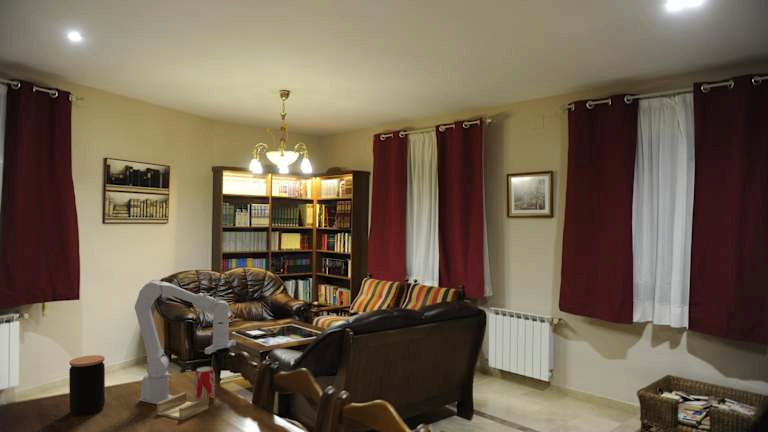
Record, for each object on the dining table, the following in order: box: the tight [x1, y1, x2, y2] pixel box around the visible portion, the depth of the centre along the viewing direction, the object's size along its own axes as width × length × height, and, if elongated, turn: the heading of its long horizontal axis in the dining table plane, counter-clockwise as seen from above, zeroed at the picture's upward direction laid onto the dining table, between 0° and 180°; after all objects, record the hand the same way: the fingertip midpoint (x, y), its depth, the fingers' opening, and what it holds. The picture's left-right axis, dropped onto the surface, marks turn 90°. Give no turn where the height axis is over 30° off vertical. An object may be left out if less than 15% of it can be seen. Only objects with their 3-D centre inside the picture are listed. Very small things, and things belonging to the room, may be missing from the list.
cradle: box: [156, 392, 209, 421], centre depth 177 cm, size 12×12×4 cm
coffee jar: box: [68, 354, 106, 417], centre depth 178 cm, size 11×11×18 cm
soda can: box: [194, 366, 216, 404], centre depth 186 cm, size 7×7×12 cm
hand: (221, 368), depth 194 cm, fingers closed
